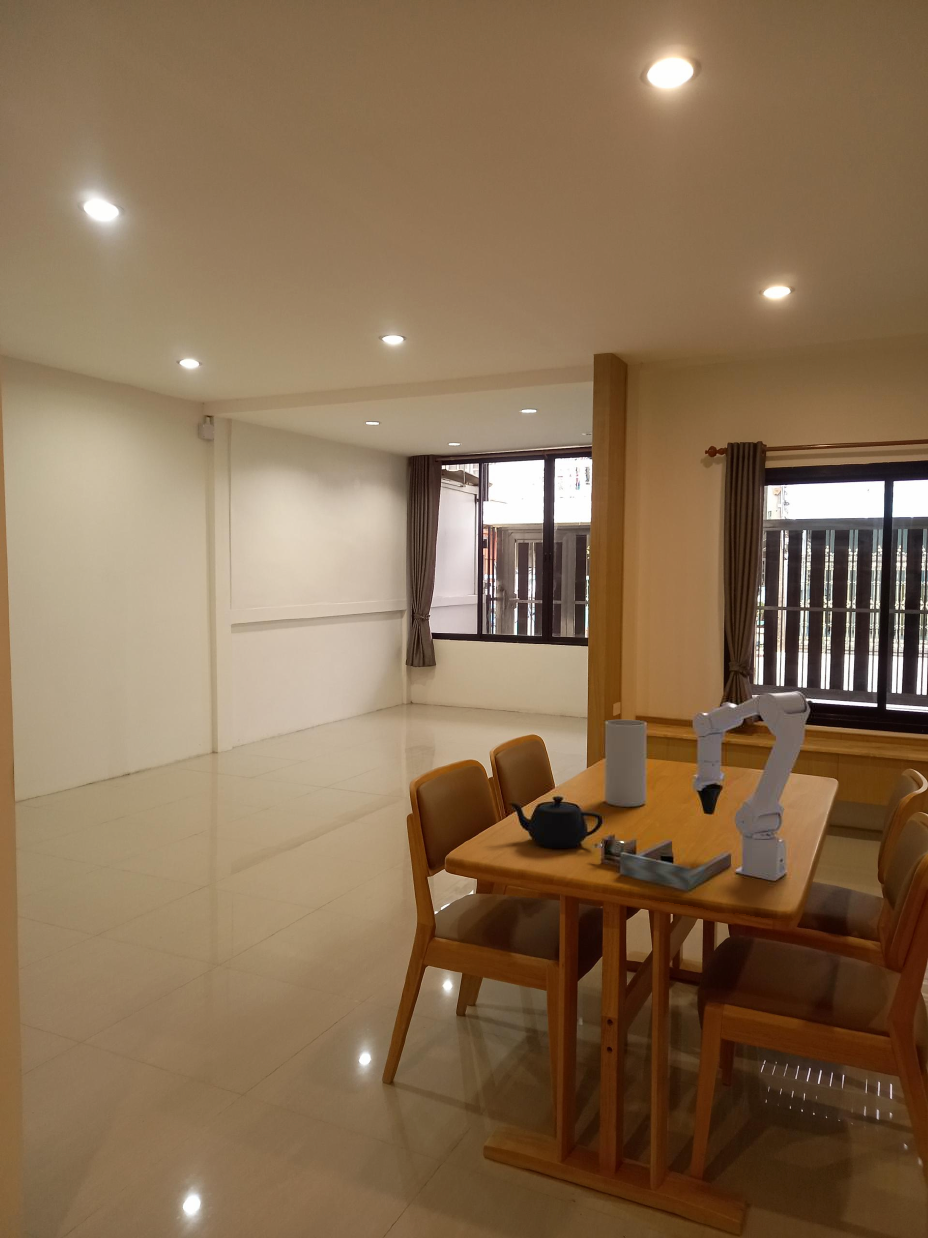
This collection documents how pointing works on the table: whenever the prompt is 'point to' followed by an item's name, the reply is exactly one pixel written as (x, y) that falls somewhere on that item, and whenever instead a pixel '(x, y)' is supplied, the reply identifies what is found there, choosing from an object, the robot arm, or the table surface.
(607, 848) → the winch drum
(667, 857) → the black holder block
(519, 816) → the teapot
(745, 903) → the table surface
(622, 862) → the bay
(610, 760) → the cylinder vase
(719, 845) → the table surface
